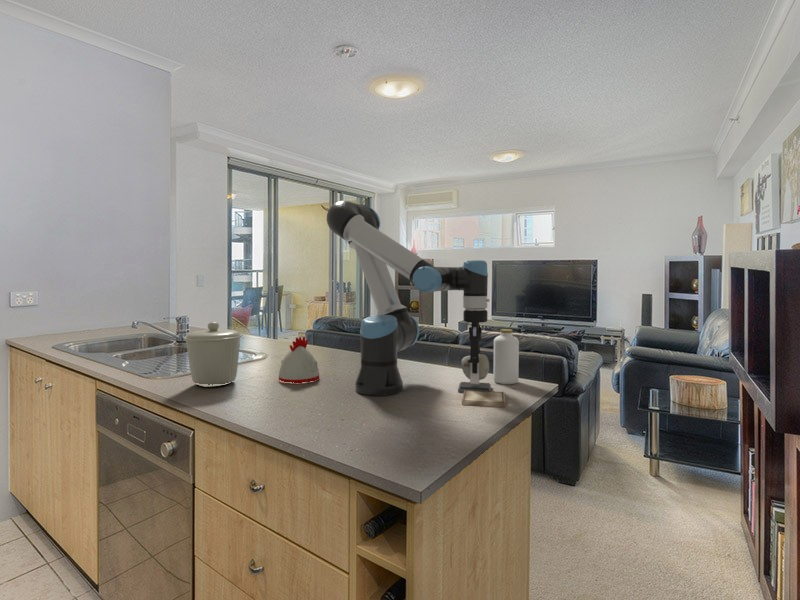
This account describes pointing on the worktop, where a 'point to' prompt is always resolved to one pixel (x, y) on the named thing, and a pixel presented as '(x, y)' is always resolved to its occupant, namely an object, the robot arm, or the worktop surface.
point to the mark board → (483, 398)
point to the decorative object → (482, 366)
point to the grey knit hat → (299, 364)
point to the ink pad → (474, 387)
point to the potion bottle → (506, 358)
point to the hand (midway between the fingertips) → (475, 379)
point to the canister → (213, 354)
